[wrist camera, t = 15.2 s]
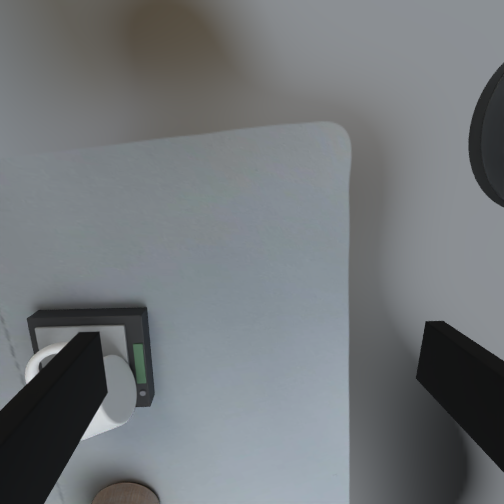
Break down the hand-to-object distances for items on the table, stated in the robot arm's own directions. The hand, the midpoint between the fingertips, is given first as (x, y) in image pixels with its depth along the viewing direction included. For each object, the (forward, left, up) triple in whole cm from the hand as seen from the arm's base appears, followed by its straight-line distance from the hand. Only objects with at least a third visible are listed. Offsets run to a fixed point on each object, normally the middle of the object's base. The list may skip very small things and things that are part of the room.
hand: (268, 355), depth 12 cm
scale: (+20, +17, -27) cm, 37 cm away
